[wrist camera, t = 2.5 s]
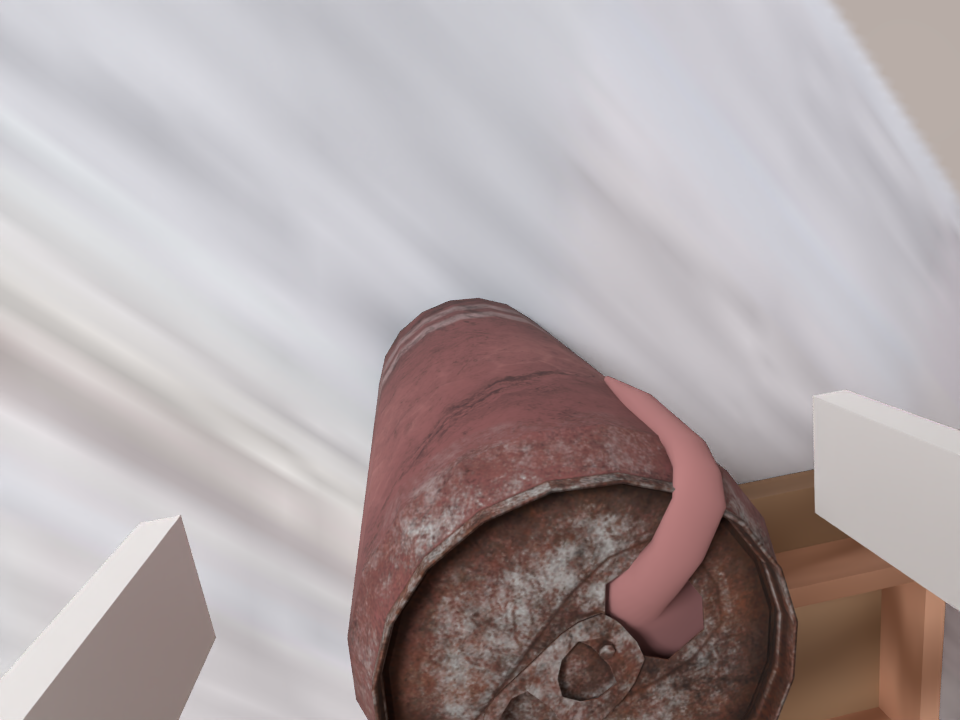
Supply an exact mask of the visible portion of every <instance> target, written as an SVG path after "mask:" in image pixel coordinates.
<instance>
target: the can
mask: <svg viewBox="0 0 960 720" xmlns="http://www.w3.org/2000/svg"><path fill="white" fill-rule="evenodd" d="M797 631H798V619H797V616H796V613H795V610H794V606H793V603H792V600H791V596H790V593H789V590H788V587H787V583H786V580H785V577H784V573H783V570H782V568H781V566H780V565H779V564H778V562H777V559H776V556H775V553H774V549H773V546H772V543H771V539H770V536H769V533H768V530H767V526H766V523H765V520H764V518H763V516H762V515H761V514H760V513H759V511H758V510H757V509H756V507H755V506H754V505H753V504H752V502H751V501H750V500H749V499H748V497H747V496H746V495H745V494H744V492H743V491H742V490H741V488H740V487H739V486H738V485H737V483H736V482H735V481H734V480H733V478H732V477H731V476H730V474H729V473H728V472H727V471H726V470H725V469H724V468H722V467H721V466H720V465H718V464H717V463H716V462H715V460H714V458H713V456H712V454H711V452H710V450H709V448H708V446H707V444H706V442H705V441H704V440H703V439H702V438H701V437H699V436H698V435H697V434H696V433H695V432H694V431H692V430H691V429H690V428H689V427H688V426H687V425H685V424H684V423H683V422H682V421H681V420H680V419H678V418H677V417H676V416H675V415H674V414H673V413H672V412H670V411H669V410H668V409H667V408H666V407H665V406H663V405H662V404H661V403H660V402H659V401H658V400H657V399H655V398H654V397H653V396H652V395H651V394H648V393H646V392H644V391H642V390H639V389H637V388H635V387H632V386H630V385H628V384H625V383H623V382H621V381H619V380H616V379H614V378H612V377H609V376H606V377H605V376H603V375H602V374H601V373H600V372H598V371H597V370H596V369H594V368H593V367H592V366H591V365H589V364H588V363H587V362H585V361H584V360H583V359H582V358H580V357H579V356H578V355H576V354H575V353H574V352H573V351H571V350H570V349H569V348H567V347H566V346H565V345H563V344H562V343H561V342H560V341H558V340H557V339H556V338H554V337H553V336H552V335H551V334H549V333H548V332H547V331H545V330H544V329H543V328H542V327H540V326H539V325H538V324H536V323H535V322H534V321H532V320H531V319H530V318H528V317H526V316H525V315H523V314H522V313H520V312H518V311H517V310H515V309H513V308H512V307H510V306H508V305H507V304H502V303H498V302H494V301H489V300H485V299H481V298H474V299H463V300H452V301H448V302H445V303H443V304H441V305H438V306H436V307H434V308H431V309H429V310H426V311H424V312H422V313H421V314H420V315H419V316H417V317H416V318H415V319H414V320H413V321H412V322H411V323H409V324H408V325H407V326H406V327H405V328H404V329H403V330H401V331H400V333H399V334H398V336H397V338H396V339H395V341H394V343H393V344H392V346H391V348H390V349H389V351H388V353H387V354H386V356H385V360H384V365H383V370H382V374H381V379H380V383H379V391H378V399H377V407H376V415H375V423H374V431H373V439H372V447H371V455H370V463H369V470H368V478H367V486H366V494H365V502H364V510H363V518H362V526H361V534H360V542H359V550H358V558H357V566H356V574H355V582H354V590H353V598H352V606H351V614H350V622H349V630H348V638H347V639H348V646H349V653H350V659H351V666H352V673H353V680H354V687H355V694H356V700H357V702H358V703H359V705H360V707H361V708H362V710H363V712H364V714H365V715H366V717H367V719H368V720H778V718H779V715H780V713H781V710H782V708H783V705H784V703H785V700H786V698H787V695H788V693H789V690H790V688H791V685H792V683H793V680H794V678H795V662H796V647H797Z"/></svg>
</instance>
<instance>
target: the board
mask: <svg viewBox="0 0 960 720" xmlns="http://www.w3.org/2000/svg"><path fill="white" fill-rule="evenodd" d="M738 486H739V487H740V488H741V490H742V491H743V492H744V494H745V495H746V496H747V497H748V499H749V500H750V501H751V502H752V504H753V505H754V506H755V507H756V509H757V510H758V511H759V513H760V514H761V515H762V516H763V518H764V520H765V523H766V526H767V530H768V533H769V536H770V539H771V543H772V546H773V549H774V553H775V556H776V559H777V562H778V564H779V565H780V566H781V568H782V570H783V573H784V577H785V580H786V583H787V587H788V590H789V593H790V596H791V600H792V603H793V606H794V610H795V613H796V616H797V619H798V631H797V647H796V662H795V678H794V680H793V683H792V685H791V688H790V690H789V693H788V695H787V698H786V700H785V703H784V705H783V708H782V710H781V713H780V715H779V718H778V720H939V707H940V690H941V672H942V654H943V637H944V619H945V601H943V600H942V599H940V598H939V597H938V596H936V595H935V594H933V593H932V592H930V591H929V590H927V589H926V588H924V587H923V586H921V585H920V584H919V583H917V582H916V581H914V580H913V579H911V578H910V577H908V576H907V575H905V574H904V573H902V572H901V571H899V570H898V569H897V568H895V567H894V566H892V565H891V564H889V563H888V562H886V561H885V560H883V559H882V558H880V557H879V556H878V555H876V554H875V553H873V552H872V551H870V550H869V549H867V548H866V547H864V546H863V545H861V544H860V543H859V542H857V541H856V540H854V539H853V538H851V537H850V536H848V535H847V534H845V533H844V532H842V531H841V530H840V529H838V528H837V527H835V526H834V525H832V524H831V523H829V522H828V521H826V520H825V519H823V518H822V517H820V516H819V515H818V514H816V513H815V489H814V470H809V471H804V472H799V473H794V474H789V475H784V476H779V477H774V478H769V479H764V480H759V481H754V482H749V483H744V484H739V485H738Z"/></svg>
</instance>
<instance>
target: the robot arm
mask: <svg viewBox="0 0 960 720" xmlns="http://www.w3.org/2000/svg"><path fill="white" fill-rule="evenodd" d="M813 438H814V489H815V513H816V514H818V515H819V516H820V517H822V518H823V519H825V520H826V521H828V522H829V523H831V524H832V525H834V526H835V527H837V528H838V529H840V530H841V531H842V532H844V533H845V534H847V535H848V536H850V537H851V538H853V539H854V540H856V541H857V542H859V543H860V544H861V545H863V546H864V547H866V548H867V549H869V550H870V551H872V552H873V553H875V554H876V555H878V556H879V557H880V558H882V559H883V560H885V561H886V562H888V563H889V564H891V565H892V566H894V567H895V568H897V569H898V570H899V571H901V572H902V573H904V574H905V575H907V576H908V577H910V578H911V579H913V580H914V581H916V582H917V583H919V584H920V585H921V586H923V587H924V588H926V589H927V590H929V591H930V592H932V593H933V594H935V595H936V596H938V597H939V598H940V599H942V600H943V601H945V602H946V603H948V604H949V605H951V606H952V607H954V608H955V609H957V610H958V611H959V612H960V430H957V429H954V428H951V427H949V426H946V425H943V424H940V423H938V422H935V421H932V420H929V419H926V418H924V417H921V416H918V415H915V414H912V413H910V412H907V411H904V410H901V409H899V408H896V407H893V406H890V405H887V404H885V403H882V402H879V401H876V400H874V399H871V398H868V397H865V396H862V395H860V394H857V393H854V392H851V391H848V390H841V391H836V392H830V393H825V394H820V395H815V396H813ZM215 638H216V636H215V633H214V629H213V626H212V622H211V619H210V615H209V612H208V608H207V605H206V602H205V598H204V595H203V591H202V588H201V584H200V581H199V577H198V574H197V570H196V567H195V563H194V560H193V556H192V553H191V549H190V546H189V542H188V539H187V535H186V532H185V528H184V525H183V522H182V518H181V515H179V516H174V517H169V518H163V519H158V520H153V521H148V522H142V523H139V524H138V525H137V527H136V528H135V529H134V530H133V531H132V532H131V533H130V534H129V536H128V537H127V538H126V539H125V540H124V541H123V542H122V543H121V545H120V546H119V547H118V548H117V549H116V550H115V551H114V552H113V553H112V555H111V556H110V557H109V558H108V559H107V560H106V561H105V562H104V564H103V565H102V566H101V567H100V568H99V569H98V570H97V571H96V573H95V574H94V575H93V576H92V577H91V578H90V579H89V580H88V582H87V583H86V584H85V585H84V586H83V587H82V588H81V589H80V591H79V592H78V593H77V594H76V595H75V596H74V597H73V598H72V599H71V601H70V602H69V603H68V604H67V605H66V606H65V607H64V608H63V610H62V611H61V612H60V613H59V614H58V615H57V616H56V617H55V619H54V620H53V621H52V622H51V623H50V624H49V625H48V626H47V628H46V629H45V630H44V631H43V632H42V633H41V634H40V635H39V637H38V638H37V639H36V640H35V641H34V642H33V643H32V644H31V645H30V647H29V648H28V649H27V650H26V651H25V652H24V653H23V654H22V656H21V657H20V658H19V659H18V660H17V661H16V662H15V663H14V665H13V666H12V667H11V668H10V669H9V670H8V671H7V672H6V674H5V675H4V676H3V677H2V678H1V679H0V720H179V718H180V715H181V713H182V711H183V709H184V707H185V704H186V702H187V700H188V698H189V696H190V693H191V691H192V689H193V687H194V685H195V682H196V680H197V678H198V676H199V674H200V671H201V669H202V667H203V665H204V663H205V660H206V658H207V656H208V654H209V652H210V649H211V647H212V645H213V643H214V641H215Z"/></svg>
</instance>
